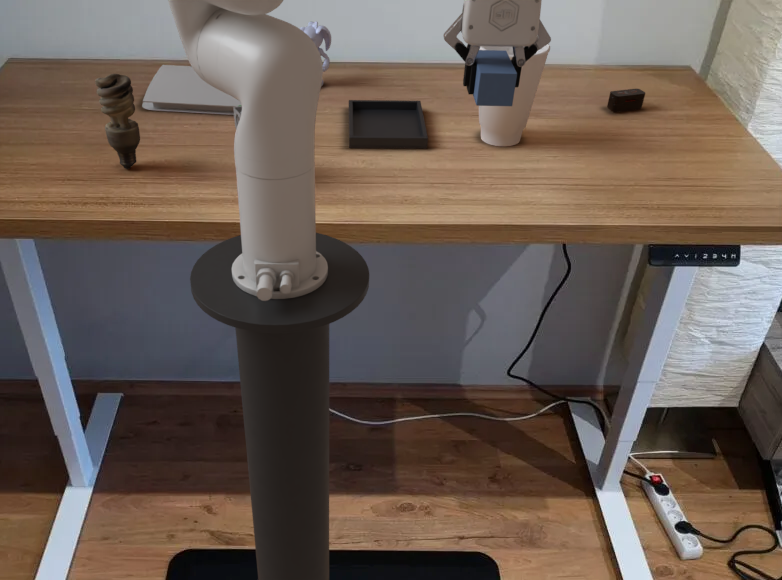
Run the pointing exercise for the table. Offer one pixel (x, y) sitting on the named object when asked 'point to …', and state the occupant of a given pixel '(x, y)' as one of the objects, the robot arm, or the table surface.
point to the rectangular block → (494, 79)
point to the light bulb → (119, 116)
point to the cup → (511, 120)
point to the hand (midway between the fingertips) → (489, 90)
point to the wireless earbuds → (626, 100)
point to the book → (186, 93)
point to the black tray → (386, 124)
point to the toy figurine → (319, 40)
